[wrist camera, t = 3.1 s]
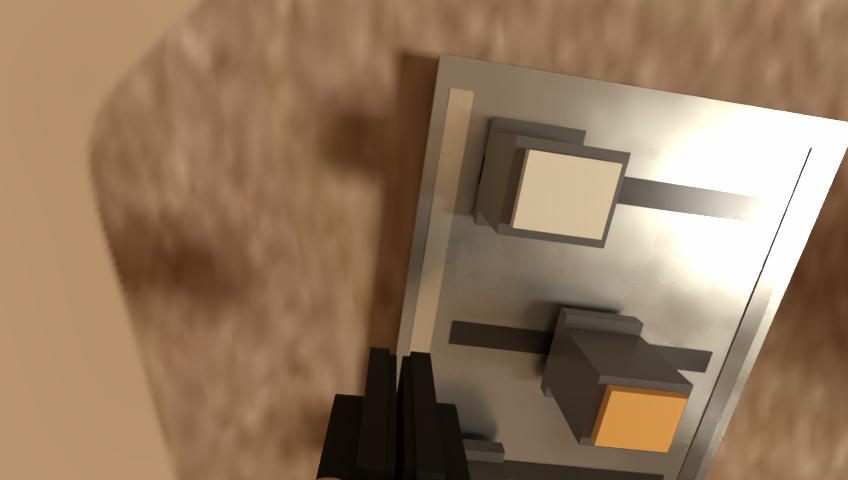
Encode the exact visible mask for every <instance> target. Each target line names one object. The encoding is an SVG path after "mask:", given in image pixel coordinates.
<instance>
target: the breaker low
mask: <svg viewBox="0 0 848 480" xmlns="http://www.w3.org/2000/svg"><path fill="white" fill-rule="evenodd" d="M585 135H586V130H580V129H574V128H567V127H561V126H555V125H548V124H542V123H536V122H530V121H523V120H517V119H511V118H504V117H498V116H493V117H492V122H491V128H490V133H489V138H488V144H487V149H486V154H485V160H484V165H483V170H482V176H481V181H480V186H479V192H478V197H477V202H476V208H475V213H474V218H473V221H474V223H475V224H476V225H481V226H488V227H492V229H493V230H494V231H495V232H496V234H500V235H507V236H514V237H521V238H529V239H536V240H543V241H551V242H558V243H565V244H573V245H580V246H587V247H595V248H602V249H604V246H605V243H606V239H607V236H608V232H609V229H610V225H611V222H612V218H613V215H614V211H615V208H616V204H617V201H618V197H619V194H620V190H621V187H622V183H623V180H624V176H625V173H626V169H627V166H628V162H629V159H630V155H631V153H629V152H623V151H617V150H610V149H604V148H597V147H591V146H584V145H583V143H584V139H585Z"/></svg>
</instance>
